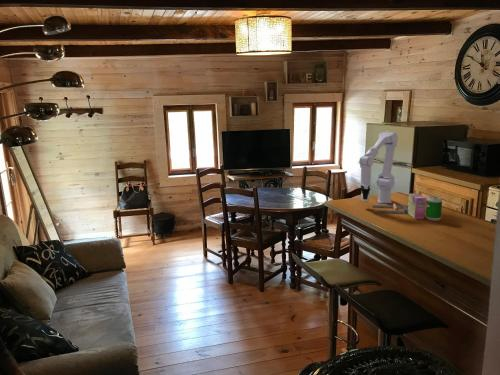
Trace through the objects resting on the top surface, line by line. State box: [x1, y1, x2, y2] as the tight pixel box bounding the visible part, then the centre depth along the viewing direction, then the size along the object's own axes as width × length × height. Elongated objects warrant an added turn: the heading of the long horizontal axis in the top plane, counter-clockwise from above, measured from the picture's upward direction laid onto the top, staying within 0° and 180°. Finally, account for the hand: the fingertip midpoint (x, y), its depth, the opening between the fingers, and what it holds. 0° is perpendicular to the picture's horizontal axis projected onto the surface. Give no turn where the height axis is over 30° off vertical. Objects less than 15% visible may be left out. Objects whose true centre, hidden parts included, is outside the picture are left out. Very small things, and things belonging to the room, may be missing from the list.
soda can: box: [425, 196, 443, 222], centre depth 222 cm, size 8×8×12 cm
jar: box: [360, 190, 370, 203], centre depth 247 cm, size 5×5×6 cm
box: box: [407, 193, 427, 220], centre depth 228 cm, size 10×6×12 cm, turn 179°
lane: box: [372, 204, 409, 215], centre depth 243 cm, size 13×18×2 cm
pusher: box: [392, 203, 398, 211], centre depth 242 cm, size 10×1×2 cm, turn 167°
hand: (365, 198), depth 248 cm, fingers closed on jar, 5 cm apart
